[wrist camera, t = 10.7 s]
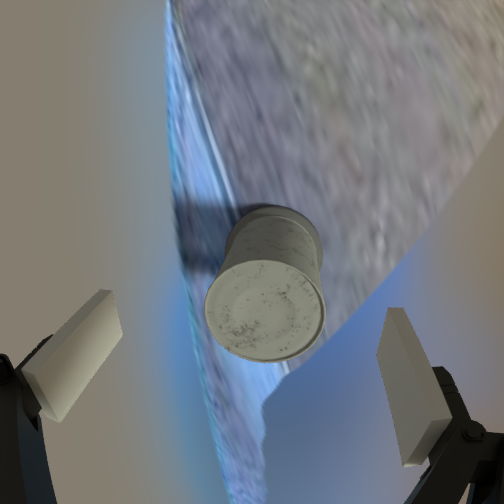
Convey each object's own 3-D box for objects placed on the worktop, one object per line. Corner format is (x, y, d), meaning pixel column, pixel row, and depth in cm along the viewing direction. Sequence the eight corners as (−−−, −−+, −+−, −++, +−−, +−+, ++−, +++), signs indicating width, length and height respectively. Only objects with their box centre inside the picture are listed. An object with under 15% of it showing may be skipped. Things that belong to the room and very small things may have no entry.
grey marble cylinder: (221, 224, 36) (188, 271, 24) (308, 207, 34) (316, 248, 22) (242, 300, 39) (222, 367, 27) (322, 287, 37) (332, 355, 25)
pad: (306, 193, 35) (306, 196, 33) (331, 280, 38) (333, 286, 37) (213, 222, 37) (210, 226, 36) (245, 303, 41) (244, 309, 39)
